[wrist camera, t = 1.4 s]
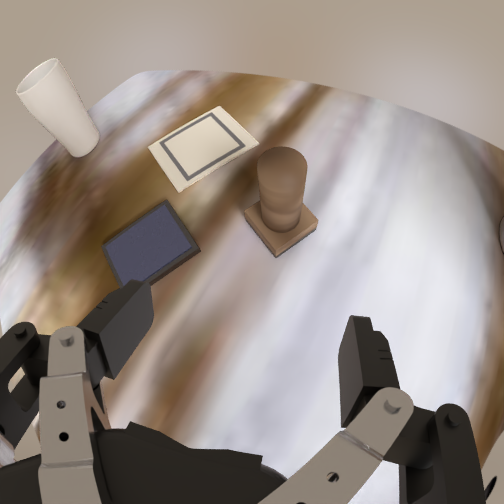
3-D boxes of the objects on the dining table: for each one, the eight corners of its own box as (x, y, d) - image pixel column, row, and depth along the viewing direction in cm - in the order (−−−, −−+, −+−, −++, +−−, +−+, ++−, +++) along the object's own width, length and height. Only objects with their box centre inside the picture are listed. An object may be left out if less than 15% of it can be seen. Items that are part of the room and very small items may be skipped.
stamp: (285, 195, 31) (287, 130, 22) (315, 230, 30) (331, 171, 20) (246, 220, 30) (233, 160, 21) (275, 258, 29) (275, 208, 19)
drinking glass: (72, 171, 35) (14, 102, 21) (65, 146, 38) (15, 83, 24) (110, 143, 36) (60, 66, 22) (99, 121, 39) (56, 51, 25)
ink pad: (169, 203, 32) (166, 198, 31) (200, 251, 30) (198, 247, 29) (105, 249, 31) (100, 246, 30) (129, 300, 28) (125, 298, 27)
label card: (219, 107, 37) (219, 105, 36) (258, 144, 34) (258, 142, 33) (148, 148, 35) (147, 146, 35) (178, 193, 32) (177, 191, 32)
